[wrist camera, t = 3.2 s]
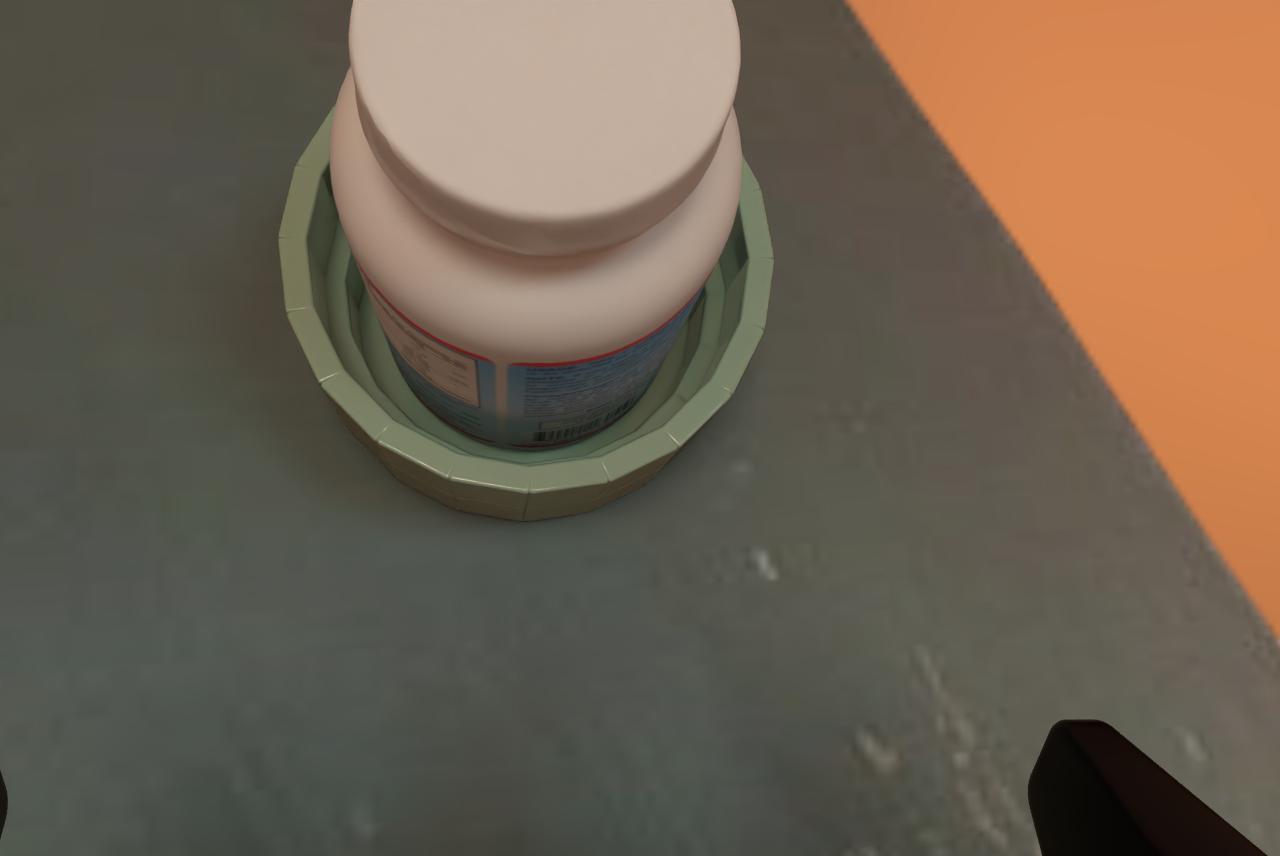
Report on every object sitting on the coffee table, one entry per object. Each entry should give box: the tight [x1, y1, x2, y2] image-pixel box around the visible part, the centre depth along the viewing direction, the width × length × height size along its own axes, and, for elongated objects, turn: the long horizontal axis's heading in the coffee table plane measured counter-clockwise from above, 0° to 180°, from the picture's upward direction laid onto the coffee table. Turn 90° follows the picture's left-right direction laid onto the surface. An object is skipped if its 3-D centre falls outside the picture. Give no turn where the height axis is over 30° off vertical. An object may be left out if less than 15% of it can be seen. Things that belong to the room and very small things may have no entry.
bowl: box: [278, 104, 774, 522], centre depth 22 cm, size 9×9×4 cm
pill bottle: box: [329, 0, 742, 450], centre depth 18 cm, size 6×6×11 cm
